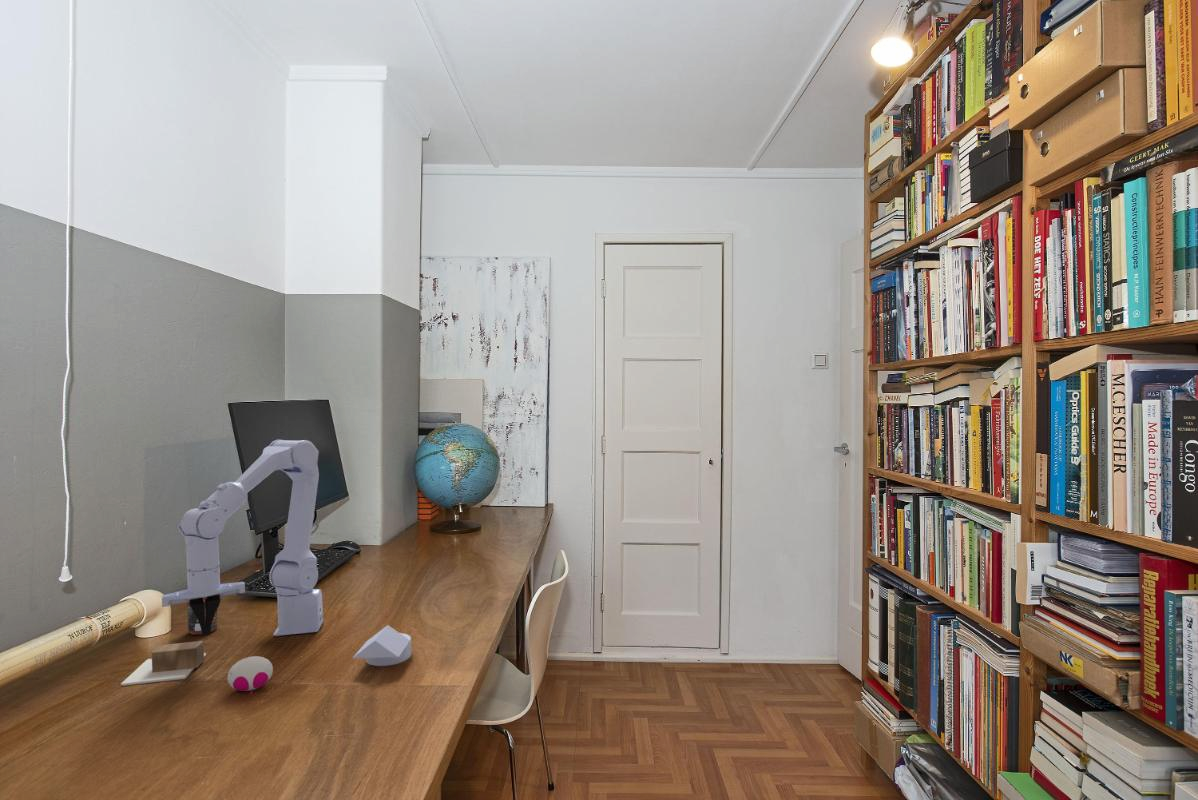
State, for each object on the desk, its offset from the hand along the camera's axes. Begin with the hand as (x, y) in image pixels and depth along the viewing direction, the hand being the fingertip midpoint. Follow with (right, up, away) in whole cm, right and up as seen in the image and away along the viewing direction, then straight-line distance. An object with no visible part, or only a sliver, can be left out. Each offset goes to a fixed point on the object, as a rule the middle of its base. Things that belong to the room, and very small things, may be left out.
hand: (205, 634), depth 137 cm
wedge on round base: (+37, -6, 0) cm, 37 cm away
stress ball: (+15, -7, -12) cm, 20 cm away
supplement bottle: (-12, -6, +20) cm, 24 cm away
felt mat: (-7, -7, -2) cm, 10 cm away
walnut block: (-1, -4, 0) cm, 4 cm away
